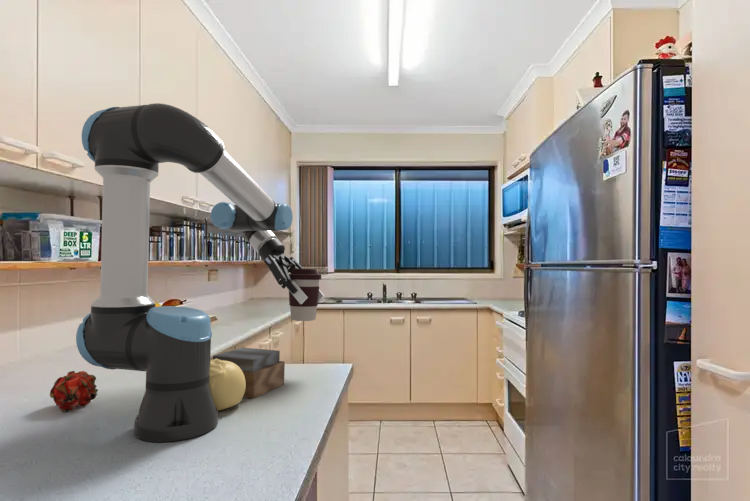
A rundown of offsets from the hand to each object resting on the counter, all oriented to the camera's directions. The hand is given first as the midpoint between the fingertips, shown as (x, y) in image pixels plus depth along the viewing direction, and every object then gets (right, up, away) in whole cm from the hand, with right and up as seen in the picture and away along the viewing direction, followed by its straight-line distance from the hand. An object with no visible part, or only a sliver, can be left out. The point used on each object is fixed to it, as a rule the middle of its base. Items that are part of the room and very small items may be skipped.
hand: (313, 299), depth 128 cm
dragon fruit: (-49, -21, -30) cm, 61 cm away
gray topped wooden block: (-15, -21, -14) cm, 30 cm away
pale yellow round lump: (-18, -21, -29) cm, 40 cm away
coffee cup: (-3, -6, +1) cm, 7 cm away
